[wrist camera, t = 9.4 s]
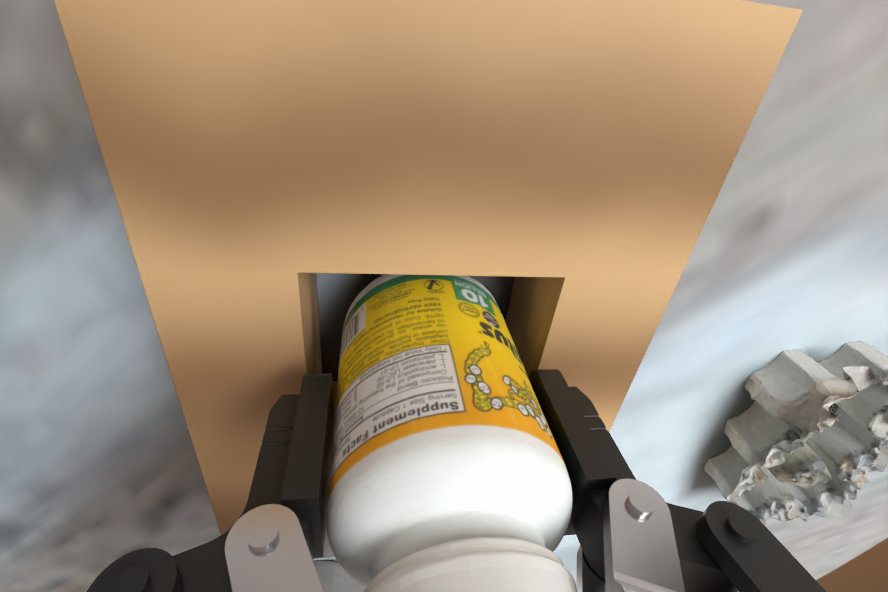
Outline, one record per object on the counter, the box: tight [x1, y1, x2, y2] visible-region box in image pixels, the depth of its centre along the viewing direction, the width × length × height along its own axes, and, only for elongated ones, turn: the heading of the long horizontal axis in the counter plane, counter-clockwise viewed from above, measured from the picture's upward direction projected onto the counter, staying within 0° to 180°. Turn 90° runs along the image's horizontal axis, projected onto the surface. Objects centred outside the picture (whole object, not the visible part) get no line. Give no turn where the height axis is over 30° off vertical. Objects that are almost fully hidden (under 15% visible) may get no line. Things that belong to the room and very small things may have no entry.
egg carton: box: [704, 341, 888, 525], centre depth 22 cm, size 11×8×4 cm
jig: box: [54, 0, 803, 559], centre depth 14 cm, size 20×14×4 cm
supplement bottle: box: [326, 274, 577, 592], centre depth 11 cm, size 5×5×10 cm
